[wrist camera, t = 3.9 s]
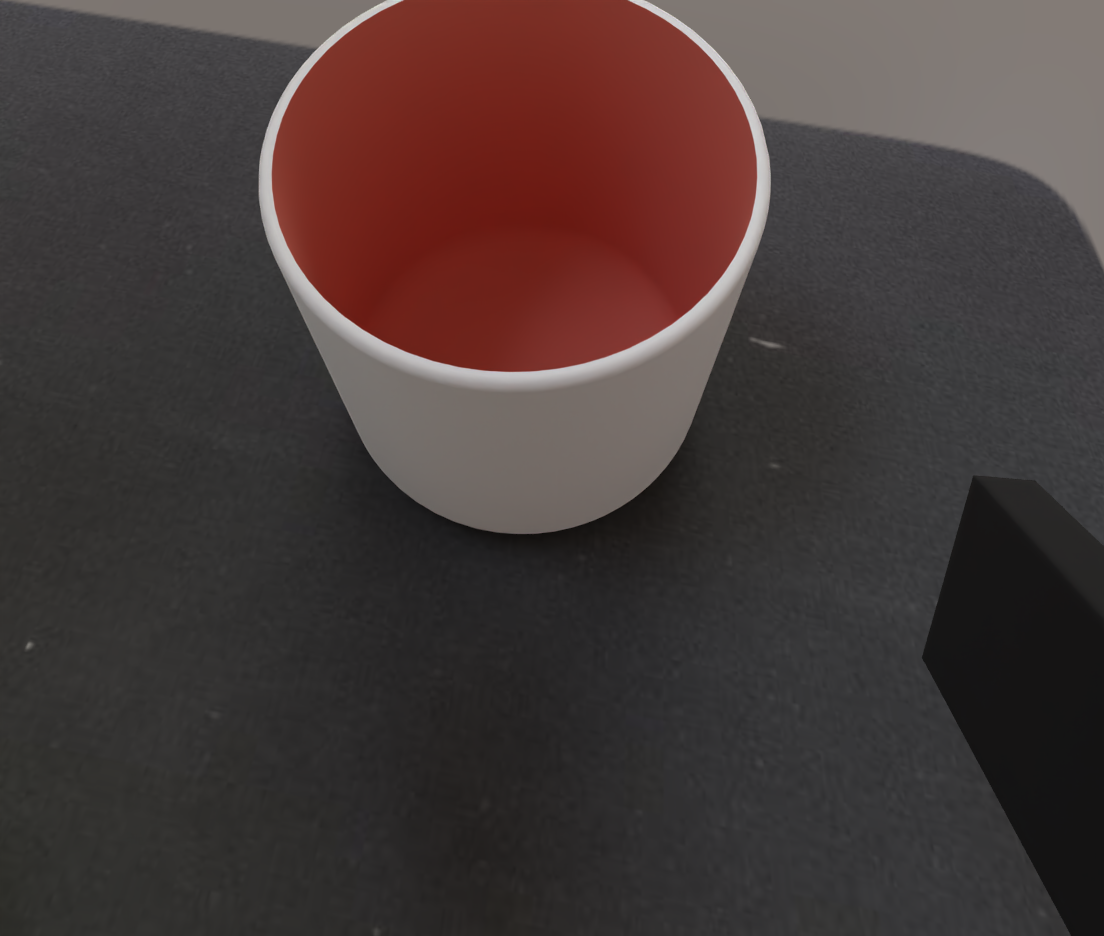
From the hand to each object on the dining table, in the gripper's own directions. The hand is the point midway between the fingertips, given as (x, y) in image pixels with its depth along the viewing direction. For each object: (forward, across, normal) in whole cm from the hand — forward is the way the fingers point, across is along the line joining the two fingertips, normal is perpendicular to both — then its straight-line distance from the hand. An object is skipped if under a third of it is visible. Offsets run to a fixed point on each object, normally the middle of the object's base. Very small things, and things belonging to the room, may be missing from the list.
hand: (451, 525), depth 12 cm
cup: (+15, 0, -3) cm, 16 cm away
